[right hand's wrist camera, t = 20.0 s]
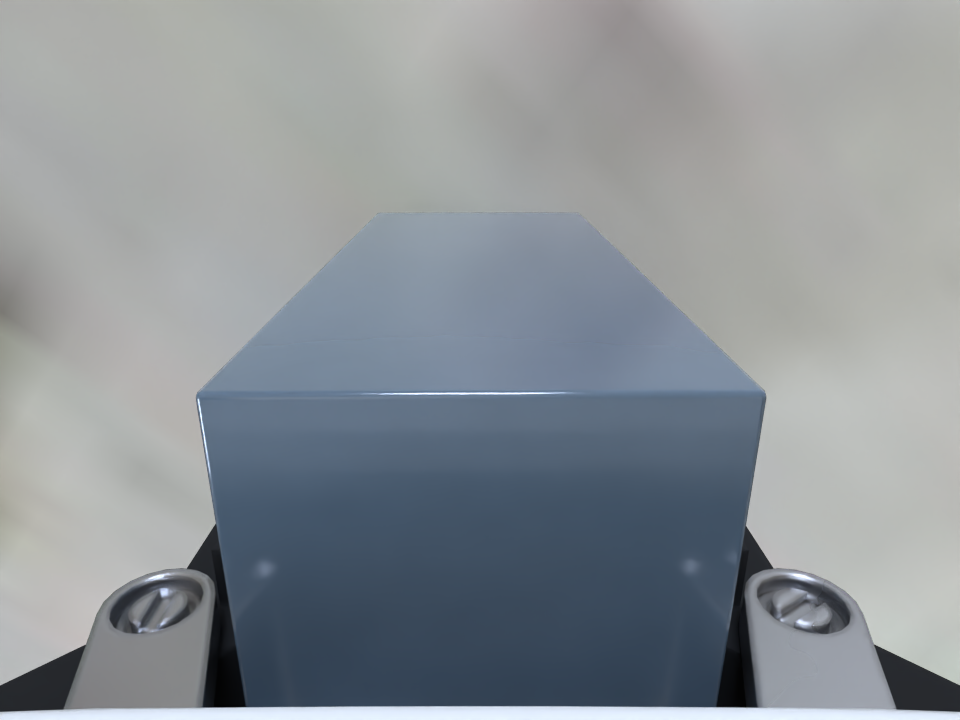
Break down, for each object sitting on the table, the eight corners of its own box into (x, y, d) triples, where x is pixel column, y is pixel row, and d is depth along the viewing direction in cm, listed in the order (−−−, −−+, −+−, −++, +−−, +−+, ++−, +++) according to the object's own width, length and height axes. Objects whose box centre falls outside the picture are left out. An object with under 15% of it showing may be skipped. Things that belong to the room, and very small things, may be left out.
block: (579, 212, 16) (770, 391, 6) (565, 498, 19) (675, 976, 9) (376, 212, 16) (192, 392, 6) (391, 499, 19) (286, 977, 9)
